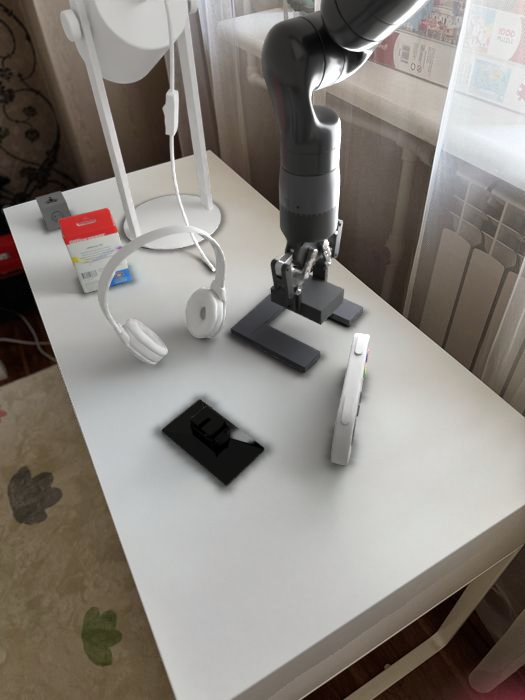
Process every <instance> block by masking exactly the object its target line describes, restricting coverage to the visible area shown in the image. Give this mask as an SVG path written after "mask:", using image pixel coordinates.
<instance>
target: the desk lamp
mask: <svg viewBox="0 0 525 700" xmlns="http://www.w3.org/2000/svg"><path fill="white" fill-rule="evenodd" d="M68 3H69V8H68V9H64V10H61V11H60V14H59V15H60V16H59V18H60V24H61V27H62V29H63V32H64V35H65V36H66V38H67V40H69V41H70V42H72V43H74V44H75V47H76V50H77V52H78V54H79V56H80V57H81V59H82V60H83V62H84V64H85V68H86V72H87V75H88V76H87V77H88V79H89V84H90V88H91V91H92V93H93V94H92V95H93V99H94V102H95V106H96V110H97V113H98V117H99V121H100V125H101V128H102V132H103V136H104V140H105V144H106V147H107V151H108V155H109V158H110V159H109V160H110V163H111V166H112V170H113V174H114V178H115V182H116V186H117V189H118V193H119V197H120V201H121V205H122V209H123V212H124V215H125V216H124V217H125V219H124V222H123V232H124V234H125V236H126V238H127V239H128V240H129V241H132V240H133V239H135V238H137V237H139V236H141V235H143V234H145V233H148V232H150V231H153V230H156V229H159V228H163V227H167V226H175V225H186V226H192V227H196V228H199V229H201V230H203V231H204V232H206V233H207V234H209V235H210V236H212V235H213V233H214V232H216V230H217V229H218V228H219V226H220V223H221V220H222V213H221V210H220V208H219V207H218V205H216V204H215V203H214V202H213V196H212V195H213V194H212V187H211V180H210V171H209V162H208V155H207V148H206V140H205V132H204V124H203V123H204V122H203V116H202V107H201V100H200V94H199V93H200V92H199V84H198V77H197V70H196V69H197V68H196V61H195V54H194V53H195V52H194V46H193V37H192V30H191V23H190V15H192V14H196V12H198V10H199V0H68ZM175 42H177V48H178V55H179V63H180V68H181V69H180V70H181V77H182V84H183V89H184V96H185V104H186V111H187V117H188V118H187V119H188V124H189V131H190V138H191V144H192V152H193V158H194V166H195V173H196V180H197V187H198V191H199V192H198V193H199V196H198V195H191V194H180V190H179V185H178V180H177V174H176V164H175V145H174V143H175V142H174V141H175V140H174V138H175V137H174V136H175V135H176V133H177V131H178V128H179V112H180V111H179V108H180V104H179V103H180V97H179V90H178V89H175ZM168 51H169V89H168V90H167V92H166V93H165V104H164V105H163V106H162V107H161V108H162V112H163V115H164V127H165V135H167V136H169V156H170V157H169V159H170V168H171V176H172V182H173V188H174V192H175V194H171V195H170V194H169V195H164V196H159V197H155V198H152V199H150V200H148V201H147V200H146V201H145V202H143V203H141V204H140V205H138V206H136V207H135V205H134V200H133V196H132V192H131V188H130V183H129V179H128V176H127V173H126V168H125V164H124V160H123V156H122V152H121V147H120V143H119V139H118V135H117V132H116V127H115V123H114V119H113V115H112V111H111V107H110V103H109V99H108V94H107V91H106V86H105V83H104V80H106V81H109V82H112V83H116V84H120V85H121V84H123V85H125V84H126V85H127V84H132V83H136V82H138V81H140V80H143V78H145V77H147V75H148V74H149V73H150V72H151V71H152V70H153V68H155V66H156V65H157V64H158V63H159V62H160V60H161V59H162V57H164V56H165V54H166V53H167V52H168ZM204 240H205V239H204V238H202V237H201V236H200V235H198V234H197V233H177V234H172V235H168V236H165V237H162V238H159V239H156V240H154V241H152V242H149V243H147V244H145V245H143V246H142V247H143V248H146V249H150V250H158V251H169V250H177V249H182V248H187V247H190V246H193V245H194V246H195V247H196V249H197V251H198V252H199V254H200V256H201V257H202V259H203V260H204V262H205V264H207V266H208V267H209V269H210V270H211V271H212V272H216V267H214V265H213V264H212V263H211V262H210V260H209V258H208V257H207V256H206V253H204V251H203V249H202V248H201V246H200V244H199V243H200V242H202V241H204Z"/></svg>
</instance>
